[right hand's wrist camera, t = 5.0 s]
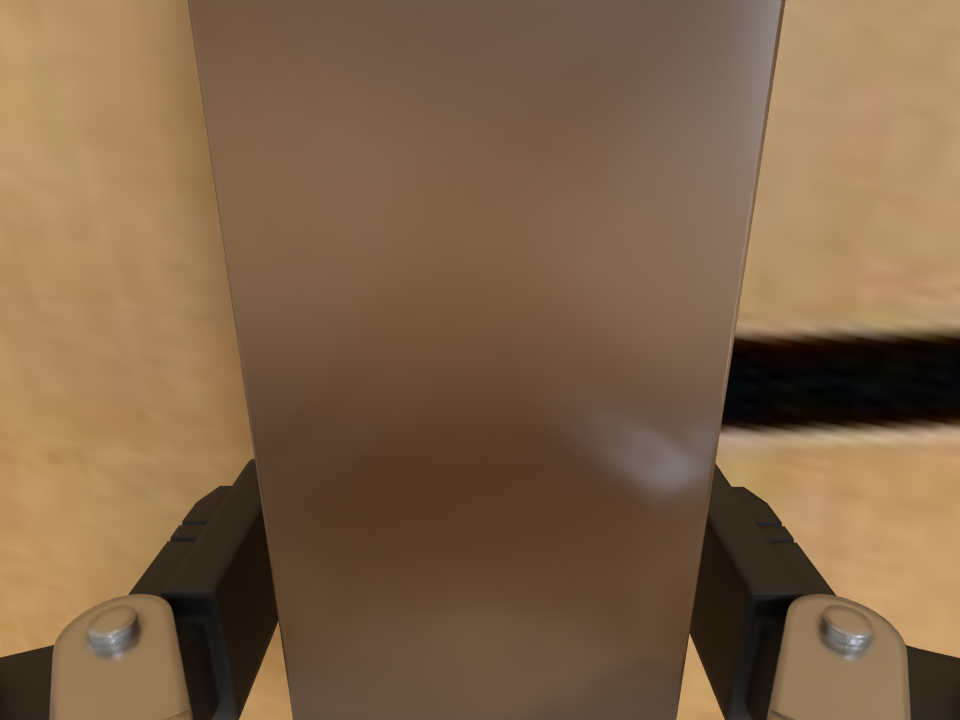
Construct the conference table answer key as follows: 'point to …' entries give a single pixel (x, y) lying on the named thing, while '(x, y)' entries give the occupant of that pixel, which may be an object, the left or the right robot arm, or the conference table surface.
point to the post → (485, 333)
